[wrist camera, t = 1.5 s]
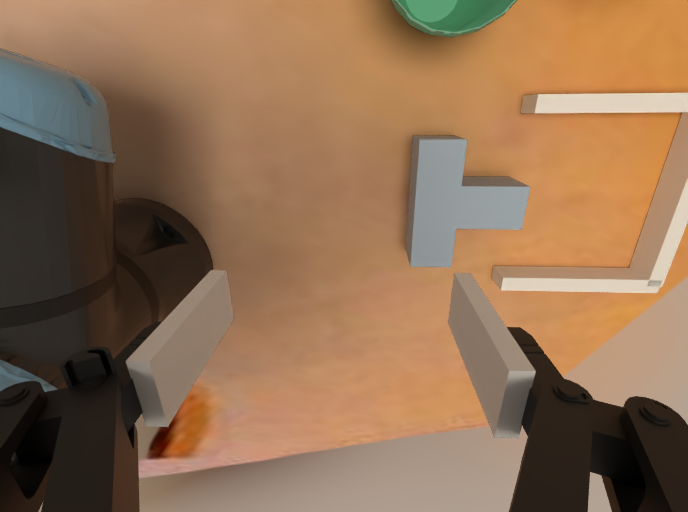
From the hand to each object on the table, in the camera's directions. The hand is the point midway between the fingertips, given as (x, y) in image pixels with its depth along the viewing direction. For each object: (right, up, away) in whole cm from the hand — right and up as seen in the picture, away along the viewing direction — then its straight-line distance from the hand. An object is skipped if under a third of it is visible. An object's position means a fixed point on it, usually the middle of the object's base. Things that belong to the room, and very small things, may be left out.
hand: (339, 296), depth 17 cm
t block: (+11, +8, +20) cm, 24 cm away
